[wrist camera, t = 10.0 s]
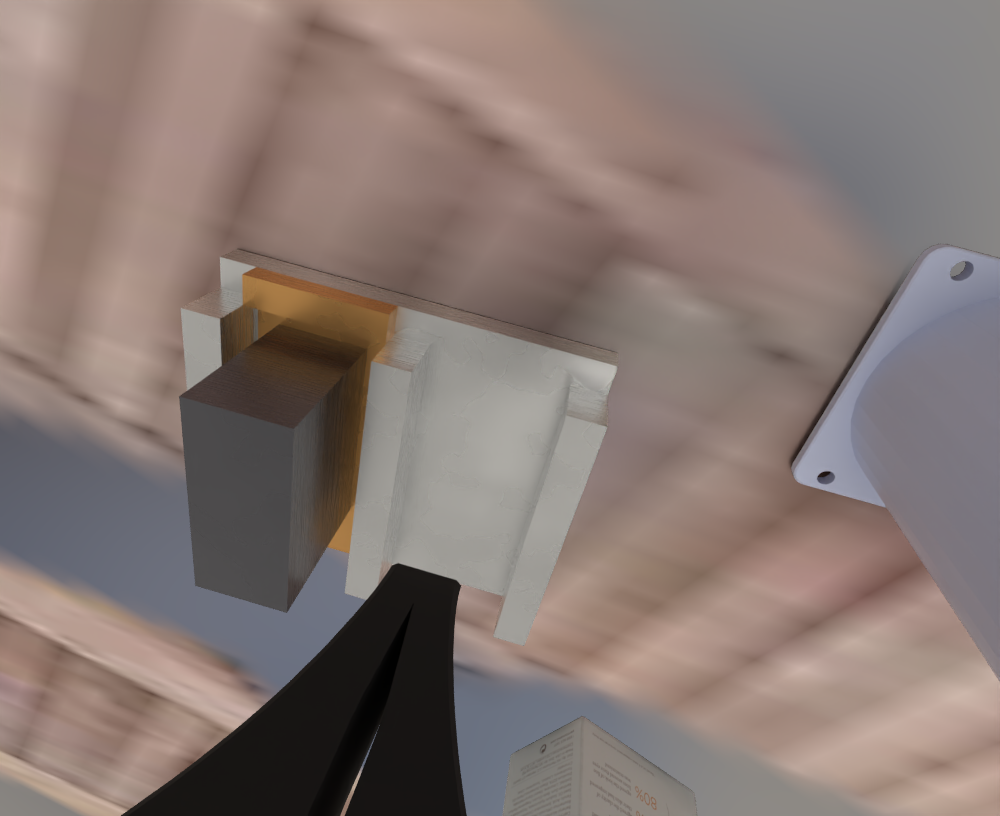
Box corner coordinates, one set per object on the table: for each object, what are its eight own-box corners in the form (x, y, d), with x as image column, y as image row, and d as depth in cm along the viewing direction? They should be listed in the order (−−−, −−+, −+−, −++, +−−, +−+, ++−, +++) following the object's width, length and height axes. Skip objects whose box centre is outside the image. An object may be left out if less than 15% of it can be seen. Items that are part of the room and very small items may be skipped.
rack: (617, 353, 18) (618, 397, 16) (533, 585, 24) (524, 645, 21) (237, 249, 19) (178, 275, 16) (242, 501, 24) (199, 550, 22)
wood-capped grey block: (367, 348, 18) (293, 429, 14) (350, 509, 22) (286, 612, 18) (279, 324, 19) (179, 396, 14) (275, 488, 22) (195, 585, 18)
